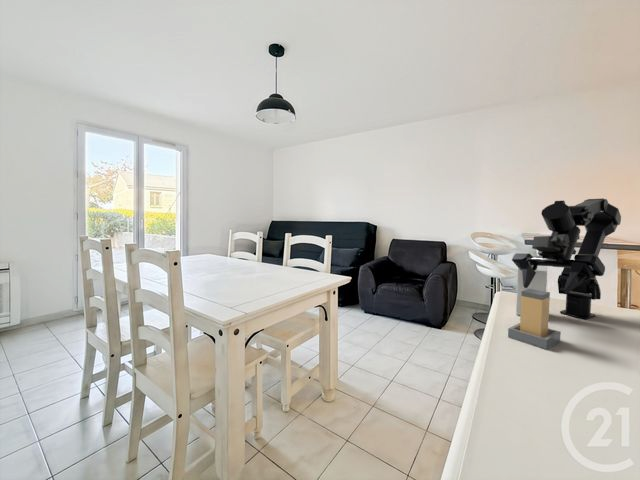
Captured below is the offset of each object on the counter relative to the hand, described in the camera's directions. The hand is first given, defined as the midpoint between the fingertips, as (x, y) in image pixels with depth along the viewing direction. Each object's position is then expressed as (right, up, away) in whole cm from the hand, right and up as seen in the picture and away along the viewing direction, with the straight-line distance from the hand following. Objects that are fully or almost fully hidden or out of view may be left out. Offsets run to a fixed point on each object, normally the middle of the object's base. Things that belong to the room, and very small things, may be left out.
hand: (544, 289), depth 72 cm
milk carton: (+8, -11, +15) cm, 21 cm away
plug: (-4, -12, -2) cm, 13 cm away
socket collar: (-4, -12, -1) cm, 13 cm away
